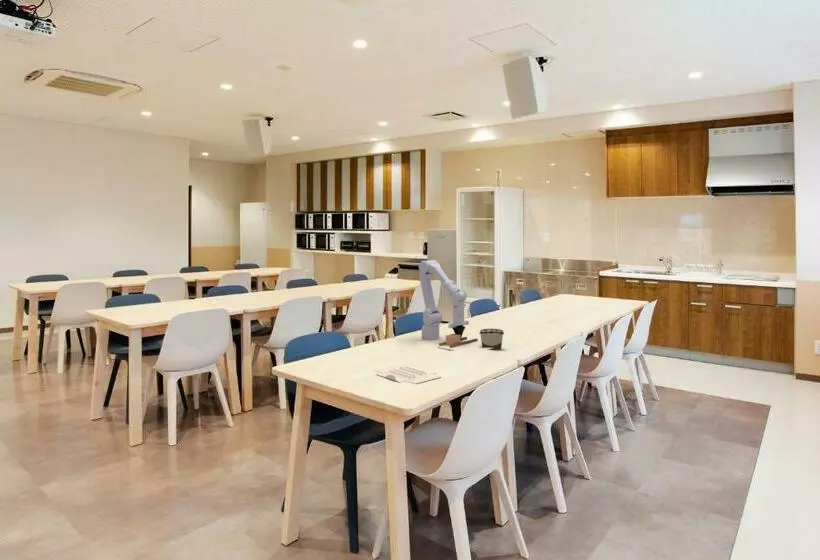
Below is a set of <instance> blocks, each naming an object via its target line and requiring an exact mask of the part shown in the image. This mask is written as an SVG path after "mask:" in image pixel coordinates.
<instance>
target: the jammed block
mask: <svg viewBox="0 0 820 560" xmlns="http://www.w3.org/2000/svg"><path fill="white" fill-rule="evenodd" d="M445 342H446V345H445V346H449V347H450V345H453V344H456V343H460V342H462V341H461V335H458V334H455V333H450V334H447V335H445Z"/></svg>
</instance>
